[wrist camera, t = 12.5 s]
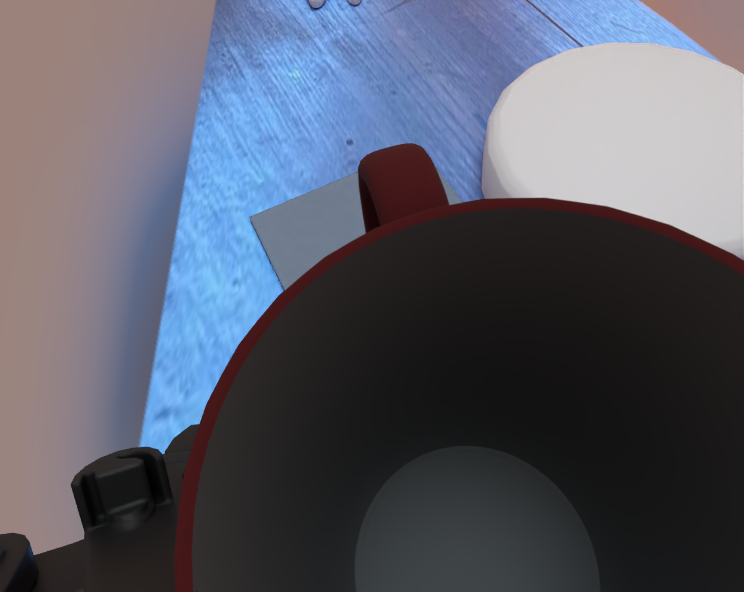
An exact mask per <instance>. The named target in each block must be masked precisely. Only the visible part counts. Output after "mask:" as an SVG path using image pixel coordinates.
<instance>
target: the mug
mask: <svg viewBox="0 0 744 592" xmlns="http://www.w3.org/2000/svg"><path fill="white" fill-rule="evenodd" d="M358 183H359V193H360V200H361V207H362V214H363V220H364V226H365V232H366V233H365V234H364V235H362V236H360V237H358V238H356V239H355V240H353V241H351V242H349V243H348V244H346V245H344V246H342V247H341V248H339V249H337V250H336V251H334V252H332V253H331V254H329V255H327V256H326V257H324V258H323V259H322V260H320V261H319V262H318V263H317V264H315V265H314V266H313V267H312V268H311V269H309V270H308V271H307V272H306V273H304V274H303V275H302V276H301V277H300V278H298V279H297V280H296V281H295V282H294V283H293V284H292V285H290V286H289V287H288V288H287V289H286V290H285V291H284V292H282V293H281V294H280V295H279V296H278V297H277V298H276V300H275V301H274V302H273V303H272V304H271V305H270V307H269V308H268V309H267V310H266V311H265V312H264V314H263V315H262V316H261V317H260V318H259V320H258V321H257V322H256V323H255V325H254V326H253V327H252V328H251V330H250V331H249V332H248V334H247V335H246V336H245V337H244V339H243V340H242V341H241V342H240V344H239V345H238V347H237V349H236V350H235V352H234V354H233V356H232V357H231V359H230V361H229V363H228V364H227V366H226V368H225V370H224V371H223V373H222V375H221V377H220V379H219V381H218V383H217V385H216V387H215V389H214V391H213V392H212V394H211V396H210V398H209V400H208V402H207V404H206V407H205V410H204V413H203V416H202V419H201V421H200V424H199V427H198V430H197V433H196V436H195V439H194V442H193V446H192V449H191V452H190V456H189V459H188V463H187V466H186V469H185V473H184V478H183V485H182V492H181V498H180V505H179V512H178V521H177V531H176V542H175V552H174V566H175V591H176V592H196V591H198V592H744V260H742V259H740V258H739V257H737V256H736V255H734V254H732V253H730V252H728V251H726V250H724V249H722V248H719V247H717V246H715V245H713V244H711V243H709V242H707V241H704V240H702V239H700V238H698V237H696V236H694V235H691V234H689V233H687V232H685V231H683V230H680V229H678V228H676V227H674V226H672V225H669V224H666V223H662V222H659V221H656V220H652V219H649V218H646V217H643V216H639V215H636V214H632V213H629V212H625V211H622V210H619V209H615V208H612V207H608V206H602V205H595V204H589V203H582V202H575V201H567V200H560V199H552V198H492V199H481V200H475V201H469V202H463V203H457V204H452V205H449V201H448V198H447V195H446V192H445V189H444V187H443V184H442V181H441V179H440V176H439V174H438V172H437V169H436V167H435V165H434V163H433V162H432V160H431V158H430V157H429V155H428V154H427V153H426V151H425V150H424V149H423V148H422V147H421V146H419V145H416V144H412V143H410V144H401V145H396V146H392V147H388V148H384V149H381V150H378V151H375V152H372V153H370V154H368V155H366V156H365V157H364V158H363V159H362V160H361V161H360V164H359V167H358Z"/></svg>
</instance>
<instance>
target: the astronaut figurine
mask: <svg viewBox="0 0 744 592" xmlns="http://www.w3.org/2000/svg"><path fill="white" fill-rule="evenodd" d="M324 1H325V0H309V3H310V5H311V6H312V7H314V8H318V7H320V6H322V4H323V3H324ZM360 1H361V0H348V2H349V3H351V4H353V5H357V4H359V3H360Z"/></svg>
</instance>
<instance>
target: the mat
mask: <svg viewBox="0 0 744 592" xmlns="http://www.w3.org/2000/svg"><path fill="white" fill-rule="evenodd" d="M436 169H437V168H436ZM437 172H438V174H439V176H440V179H441V181H442V184H443V187H444V189H445V192H446V195H447V198H448V201H449V205H452V204H457V203H463V202H462V200H461V199H460V198H459V196H458V195H457V194H456V193H455V191H454V190H453V189H452V187H451V186H450V185H449V184H448V182H447V181H446V180H445V178H444V177H443V176H442V174H441V173H440V172H439V171H438V169H437ZM250 220H251V222H252V224H253V226H254V228H255V230H256V232H257V235H258V237H259V239H260V241H261V243H262V245H263V247H264V249H265V251H266V253H267V255H268V257H269V260H270V262H271V264H272V266H273V268H274V270H275V272H276V274H277V276H278V278H279V280H280V282H281V285H282V287H283V289H284V291H285V290H286V289H287V288H288V287H289V286H290V285H292V284H293V283H294V282H295V281H296V280H297V279H298V278H300V277H301V276H302V275H303V274H304V273H306V272H307V271H308V270H309V269H311V268H312V267H313V266H314V265H315V264H317V263H318V262H319V261H320V260H322V259H323V258H324V257H326V256H327V255H329V254H331V253H332V252H334V251H336V250H337V249H339V248H341V247H342V246H344V245H346V244H348V243H349V242H351V241H353V240H355V239H356V238H358V237H360V236H362V235H364V234H365V233H366V232H365V226H364V220H363V214H362V207H361V200H360V193H359V183H358V172H356V173H354V174H351V175H349V176H346V177H344V178H342V179H339V180H337V181H334V182H332V183H330V184H327V185H325V186H322V187H320V188H318V189H315V190H313V191H310V192H308V193H306V194H303V195H301V196H299V197H296V198H294V199H291V200H289V201H287V202H284V203H282V204H279V205H277V206H275V207H272V208H270V209H267V210H265V211H263V212H260V213H258V214H255V215H253V216H251V217H250Z"/></svg>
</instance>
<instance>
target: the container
mask: <svg viewBox="0 0 744 592" xmlns="http://www.w3.org/2000/svg"><path fill="white" fill-rule="evenodd" d="M481 191H482V193H483V196H484V198H485V199H492V198H552V199H560V200H567V201H575V202H582V203H589V204H595V205H602V206H608V207H612V208H615V209H619V210H622V211H625V212H629V213H632V214H636V215H639V216H643V217H646V218H649V219H652V220H656V221H659V222H662V223H666V224H669V225H672V226H674V227H676V228H678V229H680V230H683V231H685V232H687V233H689V234H691V235H694V236H696V237H698V238H700V239H702V240H704V241H707V242H709V243H711V244H713V245H715V246H717V247H719V248H722V249H724V250H726V251H728V252H730V253H732V254H734V255H736V256H737V257H739V258H740V259H742V260H744V75H743V74H742V73H740V72H739V71H737V70H736V69H734V68H732V67H730V66H728V65H725V64H723V63H720V62H718V61H715V60H713V59H710V58H708V57H705V56H703V55H700V54H698V53H695V52H693V51H688V50H683V49H678V48H673V47H668V46H663V45H658V44H653V43H602V44H597V45H592V46H586V47H581V48H576V49H570V50H566V51H564V52H562V53H560V54H557V55H555V56H553V57H551V58H548V59H546V60H544V61H542V62H539V63H537V64H535V65H533V66H531V67H530V68H529V69H527V70H526V71H525V72H524V73H523V74H522V75H520V76H519V77H518V78H517V79H516V80H515V81H514V82H512V83H511V84H510V85H509V86H508V87H507V88H505V89H504V90H503V92H502V94H501V95H500V97H499V99H498V101H497V103H496V105H495V107H494V109H493V111H492V113H491V115H490V117H489V119H488V124H487V131H486V138H485V145H484V152H483V162H482V187H481Z"/></svg>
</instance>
